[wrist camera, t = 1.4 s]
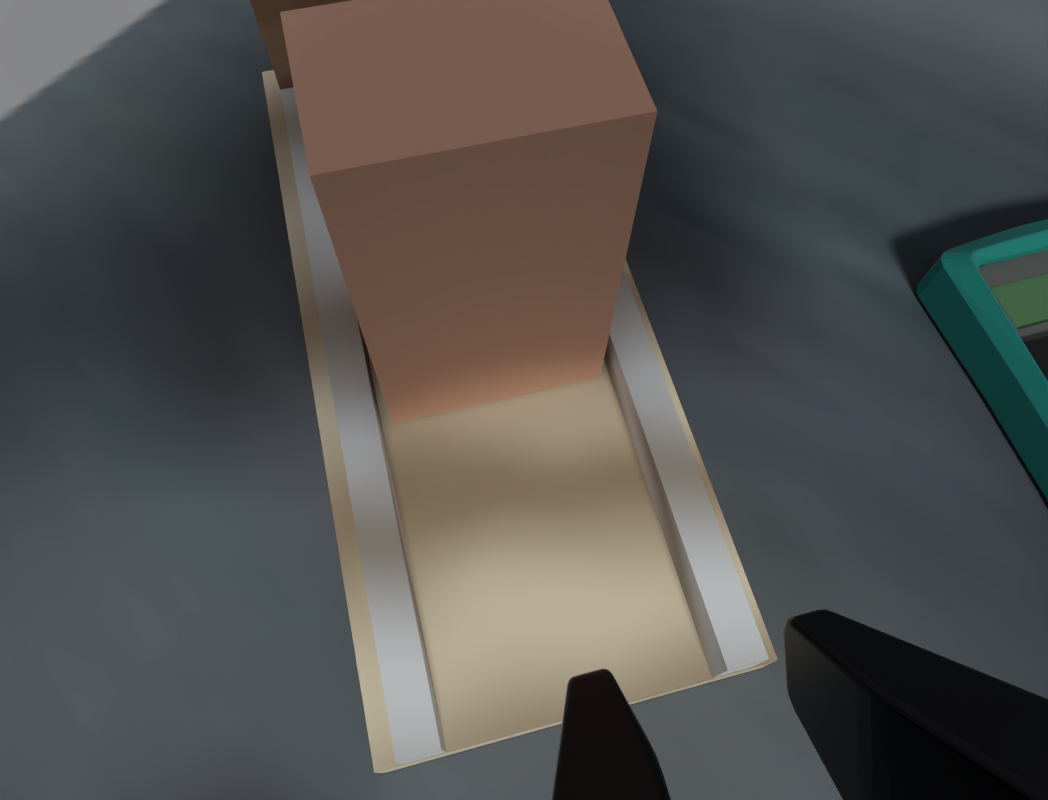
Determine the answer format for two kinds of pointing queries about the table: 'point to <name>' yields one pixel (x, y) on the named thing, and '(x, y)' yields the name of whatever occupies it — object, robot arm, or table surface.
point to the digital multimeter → (1000, 329)
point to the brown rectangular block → (473, 185)
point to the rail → (507, 517)
